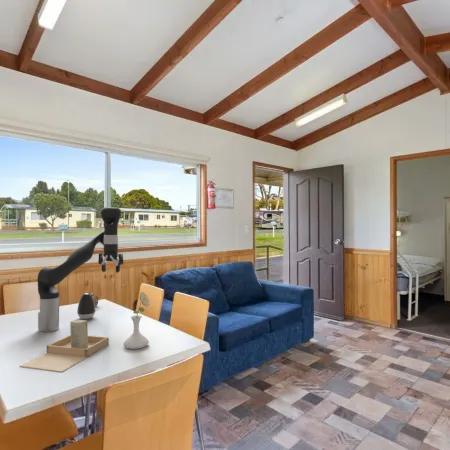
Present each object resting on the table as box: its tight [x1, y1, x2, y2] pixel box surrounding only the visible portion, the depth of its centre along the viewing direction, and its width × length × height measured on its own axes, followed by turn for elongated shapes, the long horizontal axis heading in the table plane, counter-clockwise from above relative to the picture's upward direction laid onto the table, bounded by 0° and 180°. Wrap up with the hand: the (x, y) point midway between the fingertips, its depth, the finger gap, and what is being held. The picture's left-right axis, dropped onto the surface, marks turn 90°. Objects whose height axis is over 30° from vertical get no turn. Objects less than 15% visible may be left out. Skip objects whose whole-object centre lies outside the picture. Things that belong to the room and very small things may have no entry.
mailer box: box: [19, 334, 110, 373], centre depth 143 cm, size 20×30×4 cm, turn 166°
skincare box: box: [69, 319, 89, 349], centre depth 150 cm, size 6×4×12 cm
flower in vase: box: [122, 291, 151, 350], centre depth 153 cm, size 13×11×25 cm
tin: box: [92, 294, 99, 308], centre depth 223 cm, size 15×3×8 cm, turn 168°
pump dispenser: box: [76, 292, 97, 320], centre depth 199 cm, size 10×10×15 cm
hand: (110, 272), depth 184 cm, fingers open, 8 cm apart
